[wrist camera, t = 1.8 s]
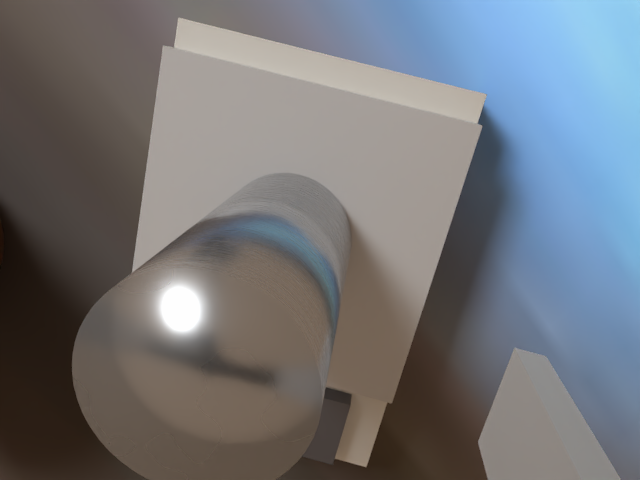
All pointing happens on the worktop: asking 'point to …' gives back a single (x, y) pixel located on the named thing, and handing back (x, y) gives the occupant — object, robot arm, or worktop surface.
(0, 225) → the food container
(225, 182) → the scale
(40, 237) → the worktop surface
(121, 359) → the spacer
